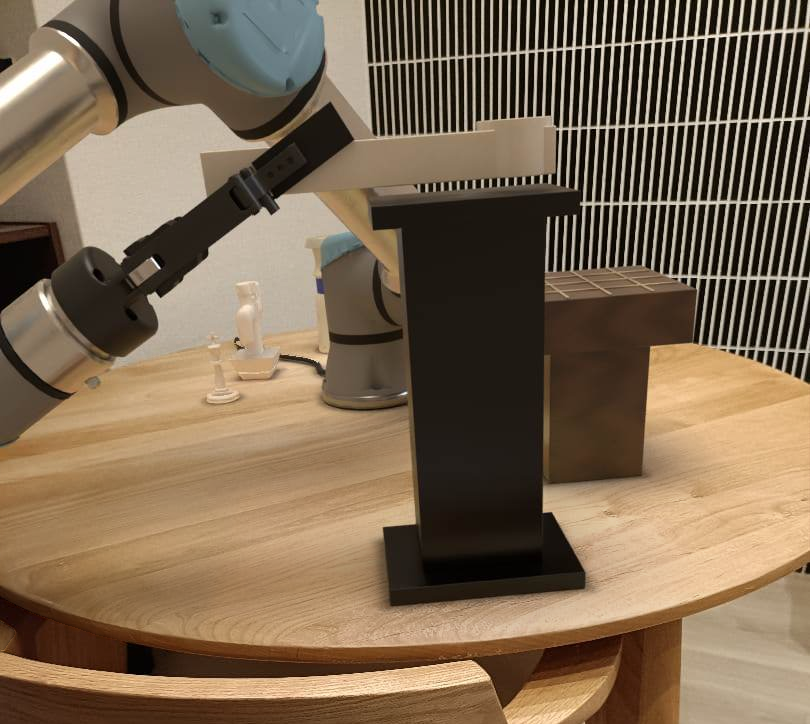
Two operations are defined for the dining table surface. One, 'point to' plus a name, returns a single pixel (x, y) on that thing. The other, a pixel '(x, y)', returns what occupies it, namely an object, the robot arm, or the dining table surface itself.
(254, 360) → the figurine
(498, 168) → the white long bar
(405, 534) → the stand
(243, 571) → the dining table surface
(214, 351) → the chess piece
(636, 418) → the goban
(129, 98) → the robot arm
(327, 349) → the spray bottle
